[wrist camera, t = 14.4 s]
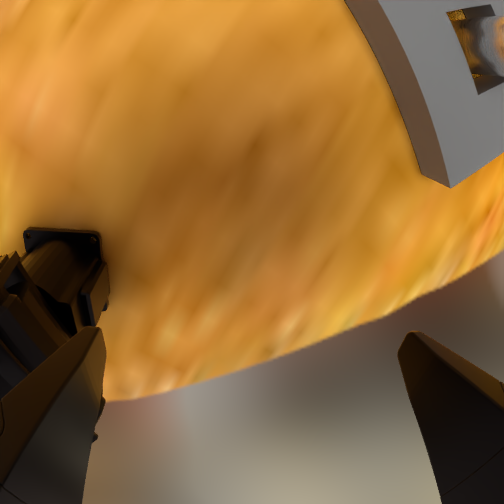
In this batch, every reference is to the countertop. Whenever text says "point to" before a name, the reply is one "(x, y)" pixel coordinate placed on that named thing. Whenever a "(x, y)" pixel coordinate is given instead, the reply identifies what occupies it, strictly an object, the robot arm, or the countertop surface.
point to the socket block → (437, 83)
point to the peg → (482, 43)
